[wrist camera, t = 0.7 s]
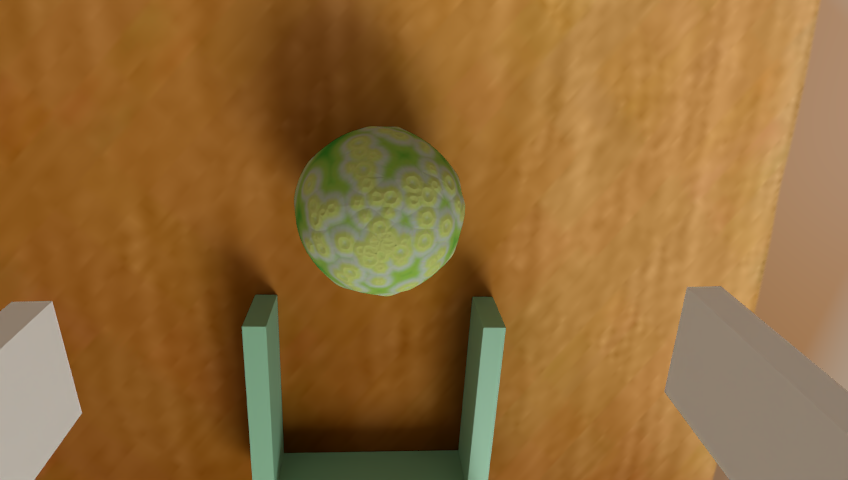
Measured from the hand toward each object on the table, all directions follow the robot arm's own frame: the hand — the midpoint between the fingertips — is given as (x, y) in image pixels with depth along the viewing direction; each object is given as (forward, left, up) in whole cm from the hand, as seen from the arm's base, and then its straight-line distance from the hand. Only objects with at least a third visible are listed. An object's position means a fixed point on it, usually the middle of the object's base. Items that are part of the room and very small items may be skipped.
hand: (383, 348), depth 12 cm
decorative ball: (+4, 0, -27) cm, 27 cm away
